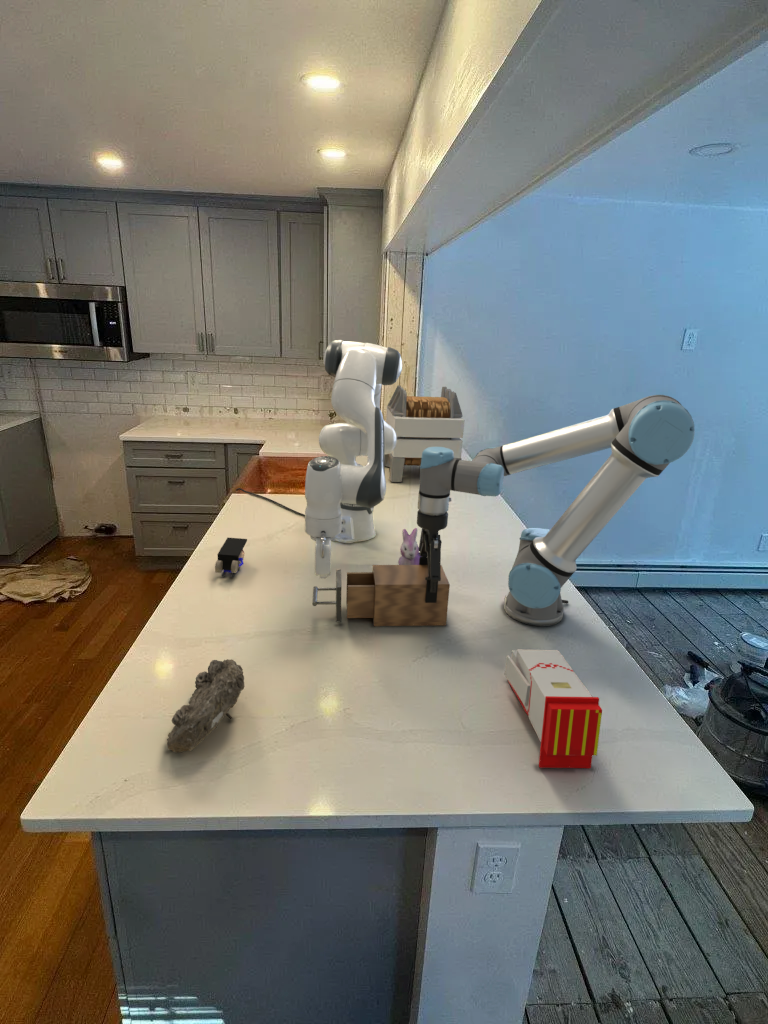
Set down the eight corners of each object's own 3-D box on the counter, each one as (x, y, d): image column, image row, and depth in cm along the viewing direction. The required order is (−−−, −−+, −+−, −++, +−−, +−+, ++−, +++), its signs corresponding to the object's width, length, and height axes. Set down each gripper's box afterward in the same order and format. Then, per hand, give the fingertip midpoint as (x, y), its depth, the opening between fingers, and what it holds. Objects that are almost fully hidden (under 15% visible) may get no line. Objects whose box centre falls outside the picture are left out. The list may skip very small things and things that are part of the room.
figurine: (405, 586, 162) (408, 538, 157) (388, 572, 170) (390, 525, 165) (433, 580, 166) (436, 533, 161) (415, 566, 174) (418, 521, 169)
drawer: (312, 621, 140) (312, 587, 137) (313, 602, 149) (313, 569, 146) (403, 621, 142) (405, 587, 139) (399, 601, 152) (401, 569, 148)
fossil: (192, 660, 117) (244, 628, 112) (224, 691, 120) (276, 661, 115) (142, 746, 98) (202, 712, 93) (182, 779, 101) (242, 748, 96)
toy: (554, 631, 124) (612, 705, 95) (548, 687, 127) (603, 776, 98) (499, 630, 124) (540, 704, 94) (495, 686, 126) (533, 775, 97)
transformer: (382, 463, 289) (386, 382, 275) (445, 464, 293) (451, 384, 279) (390, 482, 257) (394, 392, 243) (460, 483, 261) (468, 394, 247)
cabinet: (373, 626, 141) (375, 584, 137) (370, 604, 152) (372, 564, 148) (446, 625, 143) (449, 584, 139) (438, 603, 154) (441, 564, 150)
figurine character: (238, 584, 162) (249, 557, 175) (236, 562, 158) (247, 536, 172) (215, 584, 161) (227, 556, 175) (212, 561, 158) (225, 535, 171)
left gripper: (337, 541, 128) (336, 595, 132) (336, 510, 147) (335, 559, 151) (308, 541, 127) (308, 596, 132) (311, 510, 146) (311, 559, 151)
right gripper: (458, 528, 127) (450, 614, 135) (439, 495, 150) (433, 570, 157) (425, 528, 127) (419, 614, 134) (411, 495, 149) (406, 570, 156)
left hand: (323, 576), depth 142 cm, fingers closed
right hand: (426, 590), depth 146 cm, fingers open, 11 cm apart
